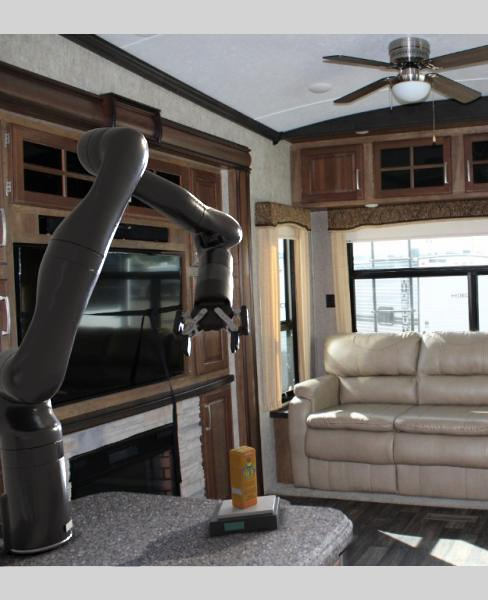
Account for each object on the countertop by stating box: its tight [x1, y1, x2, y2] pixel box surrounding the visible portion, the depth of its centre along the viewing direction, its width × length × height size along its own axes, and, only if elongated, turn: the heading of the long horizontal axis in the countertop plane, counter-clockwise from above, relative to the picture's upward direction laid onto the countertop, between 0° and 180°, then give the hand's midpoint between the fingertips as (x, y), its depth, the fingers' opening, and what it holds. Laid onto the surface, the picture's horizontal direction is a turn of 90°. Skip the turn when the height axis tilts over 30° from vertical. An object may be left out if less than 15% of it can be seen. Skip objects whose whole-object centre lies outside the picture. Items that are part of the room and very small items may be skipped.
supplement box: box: [228, 445, 258, 509], centre depth 116 cm, size 3×3×10 cm
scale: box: [209, 494, 281, 537], centre depth 116 cm, size 11×9×3 cm
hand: (210, 352), depth 127 cm, fingers open, 8 cm apart
